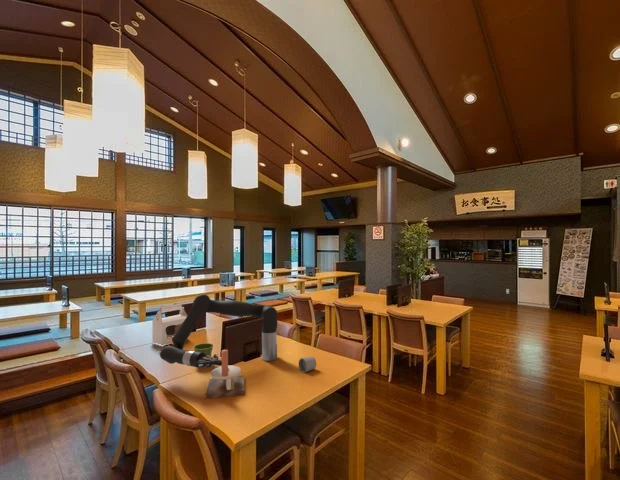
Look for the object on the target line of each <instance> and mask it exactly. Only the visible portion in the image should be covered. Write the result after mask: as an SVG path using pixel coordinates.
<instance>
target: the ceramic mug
mask: <svg viewBox="0 0 620 480" xmlns="http://www.w3.org/2000/svg"><path fill="white" fill-rule="evenodd" d="M316 367H317V361H316V358H315V357H314V356H305V357H301V358H299V361H298V368H299V370H300V372H302V373H306V372H309V371H312V370H314V369H315V368H316Z"/></svg>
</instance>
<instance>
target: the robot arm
mask: <svg viewBox="0 0 620 480" xmlns="http://www.w3.org/2000/svg"><path fill="white" fill-rule="evenodd" d="M204 313H216V314H220V315H224V316H225V315H226V316H231V317H239V318H241V317H242V318H243V317H244V318H245V317H246V318H247V317H255V318H261V319H263V321H262V323H263V325H262V327H261V354H262V355H261V358H262V360H263V361H265V362H266V361H267V362H273V361H276V360H278V341H277V328H278V315H279V314H278V311H277V309H276V308H275V307H274V306H271V305H265V304H264V305H262V304H253V303H248V302H245V301H239V300H232V299H230V300H214V299H210V297H209V295H208V294H199V295H197V296H196V297H195V298H194V300H193V302H192V307H191V309H190V311H189V312H188V314H187V315H188V316H187V317H186V319H185V320H184V322H183V323H182V324H181V326H180V327H179V329H178V330H177V332H176V333H175V332H174V334H175V335H174V337H173V338H172V342H173V343H174V344H173V346H171V345H168V346H165V347H162V348H161V350H160V351H159V357H160V358H161V359H162V360H163V361H165V362H167V363H168V364H170V365H172V364H175V363H177V364H179V365H185V366H188V367H193V368H199V369H201V368H211V367H212V366H218V367H221V366H222V359H219V356H218V355H217V354H213V356H212V355H211V356H209V355H207V356H206V354H205V353H204V352H200V351H195V350H194V349H193V350H192V349H191V350H188V349H184V346H185V343H186V342H187V341H188V340H187V339H188V337H189V338H190V335H191V334H192V332H193V330H194V328H195V325H197V322H198V321H199V319H200V318H201V316H202V315H203V314H204Z"/></svg>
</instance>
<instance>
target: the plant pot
mask: <svg viewBox="0 0 620 480" xmlns="http://www.w3.org/2000/svg"><path fill="white" fill-rule="evenodd" d="M214 346H215V345H214V344H213V343H211V342H210V343H208V342H205V343H198V344H195V345H194V346H193V347H192V348H193V351H200V352H204V353H205V354H206V356H207V355H209V356H211V357H212V351H213V348H214Z"/></svg>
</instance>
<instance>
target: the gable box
mask: <svg viewBox="0 0 620 480" xmlns="http://www.w3.org/2000/svg"><path fill="white" fill-rule="evenodd" d="M159 309H160V310H158V311H156V315H155V316H154V317H153V319H152V322H151V323H152V326H151V327H152V332H151V334H152V342H154V343H158V344H161V345H164V344H167V343H171V342H172V340H170V341H167V338H168V337H172V336H174V335H175V333H176V332H177V330H178V329H179V327H180V326H181V324H182V323H183V322H184V320H185V319H186V317H187V316H188V314H187V312H186V310H185V306H183V305H182V304H181V303H175V304H170V305H163V306H160V308H159ZM173 311H179V314H175V315H170V316H169V315H168V316H165V317H162V314H164V313H168V312H173ZM169 326H174V333H173V334H167V331H166V329H167V327H169ZM188 338H190V336H189V337H188Z"/></svg>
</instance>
